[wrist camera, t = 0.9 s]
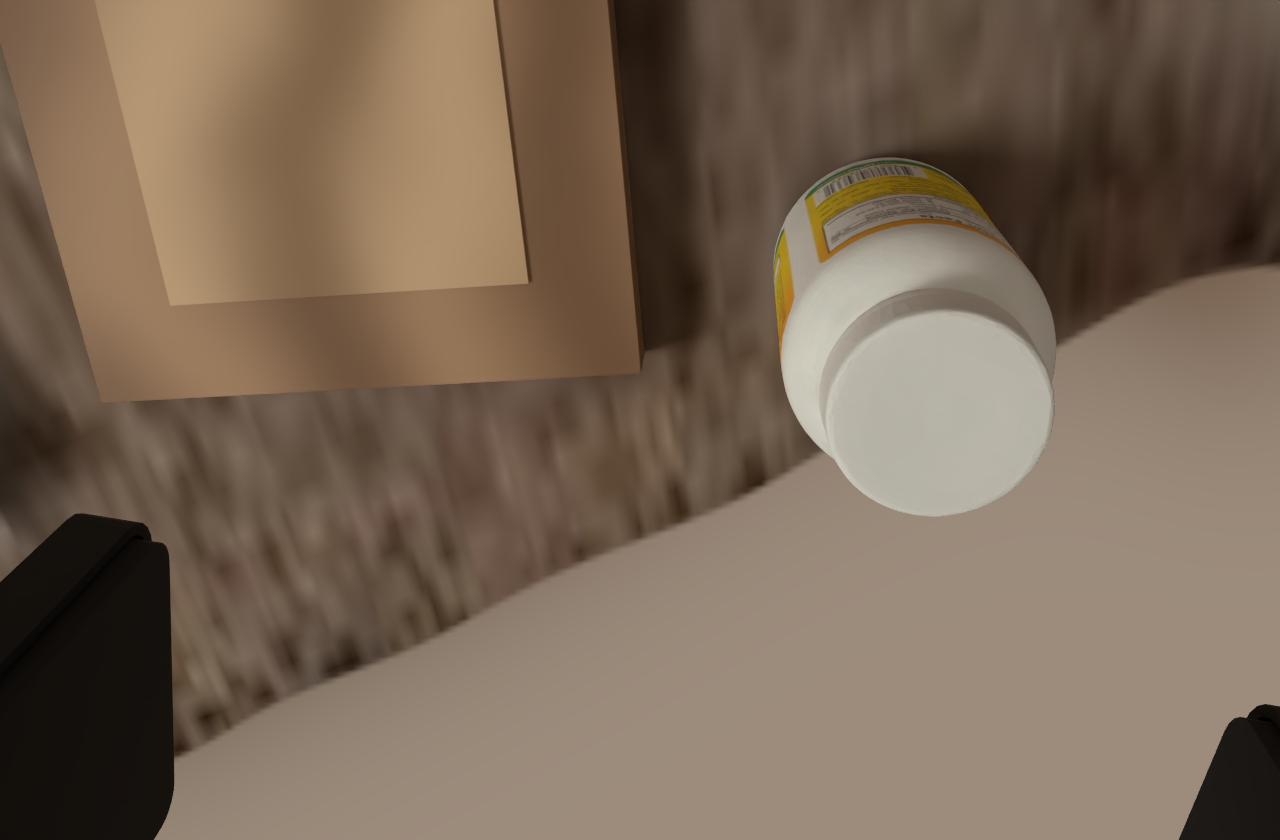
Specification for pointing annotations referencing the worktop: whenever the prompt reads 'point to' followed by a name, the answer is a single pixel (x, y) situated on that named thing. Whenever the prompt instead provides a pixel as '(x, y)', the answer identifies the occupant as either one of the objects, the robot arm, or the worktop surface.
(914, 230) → the supplement bottle
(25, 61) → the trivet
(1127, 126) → the worktop surface
